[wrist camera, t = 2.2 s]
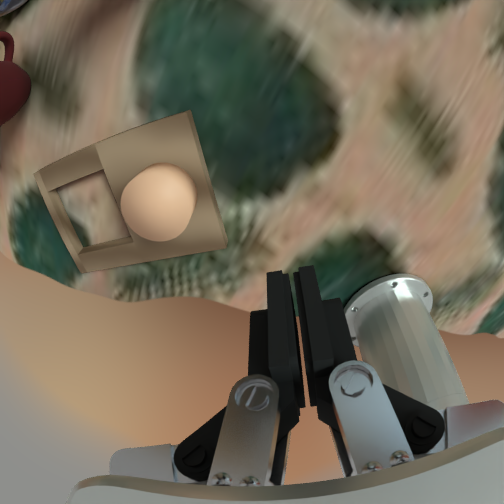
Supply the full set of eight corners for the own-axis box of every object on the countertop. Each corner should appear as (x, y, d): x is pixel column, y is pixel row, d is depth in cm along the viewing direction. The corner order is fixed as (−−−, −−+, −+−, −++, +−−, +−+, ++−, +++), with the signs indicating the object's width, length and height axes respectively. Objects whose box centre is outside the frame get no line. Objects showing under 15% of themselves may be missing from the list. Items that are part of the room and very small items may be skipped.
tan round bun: (205, 217, 26) (199, 234, 24) (147, 229, 27) (136, 246, 24) (186, 154, 23) (176, 165, 20) (124, 172, 24) (110, 185, 21)
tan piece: (227, 239, 29) (226, 248, 28) (86, 265, 32) (81, 273, 30) (190, 109, 22) (186, 111, 21) (41, 169, 25) (33, 174, 23)
